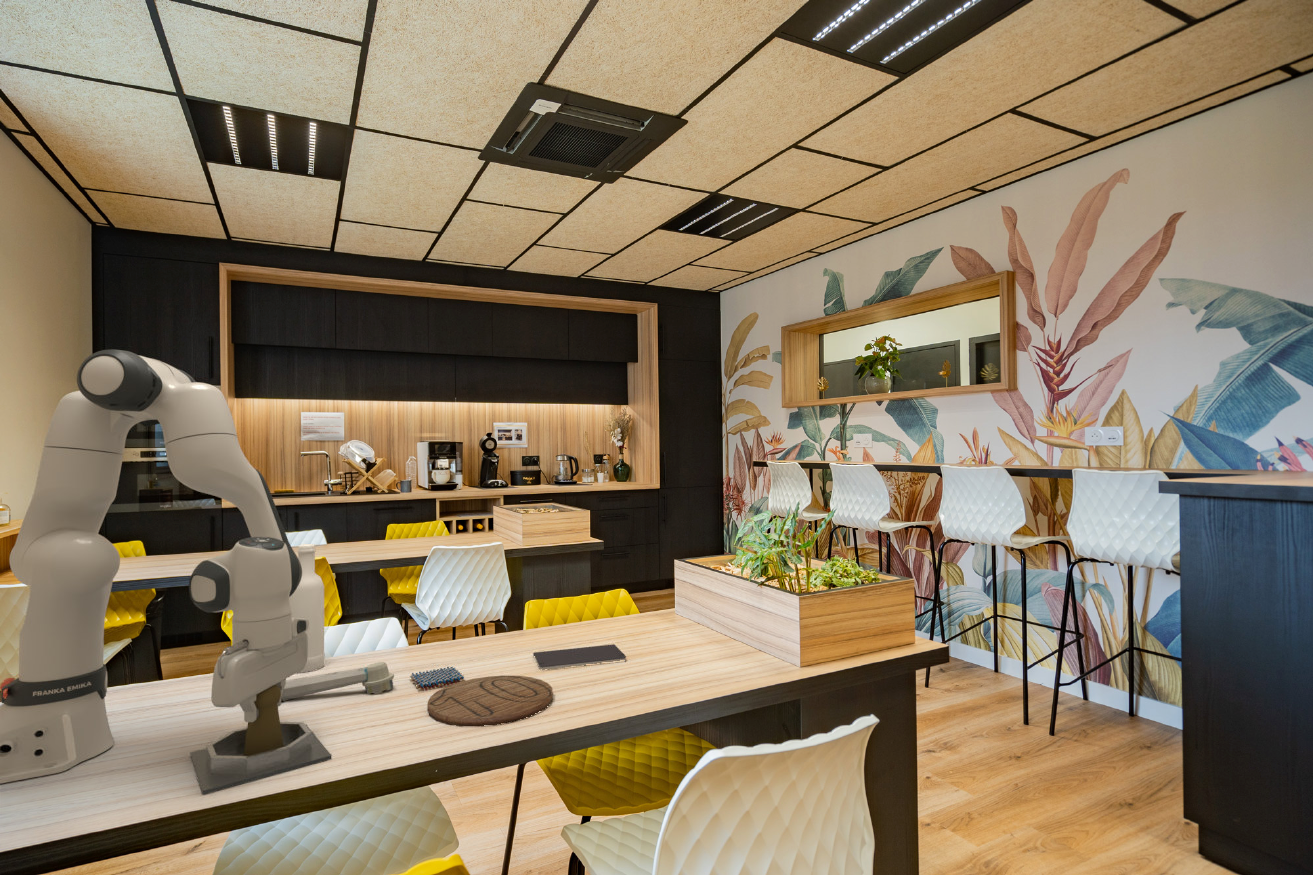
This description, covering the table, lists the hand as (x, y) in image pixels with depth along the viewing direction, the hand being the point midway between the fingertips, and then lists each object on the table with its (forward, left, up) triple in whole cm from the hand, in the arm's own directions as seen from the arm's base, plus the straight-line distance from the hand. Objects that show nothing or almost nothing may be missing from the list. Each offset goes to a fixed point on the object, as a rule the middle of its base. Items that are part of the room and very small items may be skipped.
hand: (263, 714), depth 114 cm
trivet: (+41, -4, -8) cm, 41 cm away
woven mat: (+37, +17, -8) cm, 42 cm away
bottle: (+17, +49, -7) cm, 53 cm away
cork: (0, 0, -7) cm, 7 cm away
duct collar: (-1, -1, -7) cm, 7 cm away
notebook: (+71, +9, -8) cm, 72 cm away
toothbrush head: (+17, +24, -8) cm, 31 cm away
